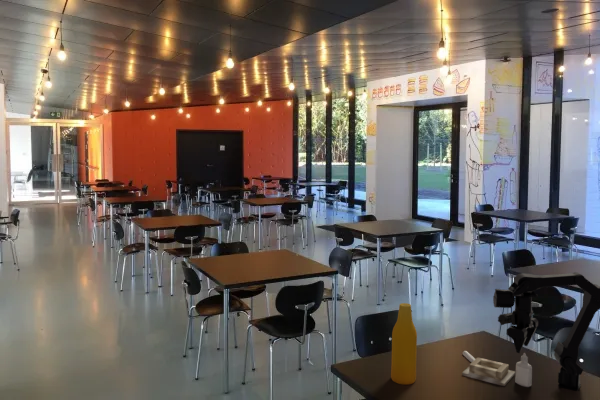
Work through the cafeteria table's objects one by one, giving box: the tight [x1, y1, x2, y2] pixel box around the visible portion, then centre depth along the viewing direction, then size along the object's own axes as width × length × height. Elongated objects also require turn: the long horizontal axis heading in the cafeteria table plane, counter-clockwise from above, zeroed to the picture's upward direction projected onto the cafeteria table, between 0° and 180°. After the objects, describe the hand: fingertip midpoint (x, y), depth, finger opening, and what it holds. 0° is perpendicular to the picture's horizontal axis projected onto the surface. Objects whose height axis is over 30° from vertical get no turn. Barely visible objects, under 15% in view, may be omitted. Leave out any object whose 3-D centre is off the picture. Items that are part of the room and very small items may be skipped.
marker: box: [462, 350, 476, 364], centre depth 222 cm, size 3×2×16 cm
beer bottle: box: [390, 302, 418, 386], centre depth 200 cm, size 9×9×29 cm
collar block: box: [461, 357, 516, 387], centre depth 206 cm, size 16×14×4 cm
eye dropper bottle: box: [514, 352, 533, 388], centre depth 197 cm, size 4×6×12 cm
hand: (522, 349), depth 198 cm, fingers open, 9 cm apart
